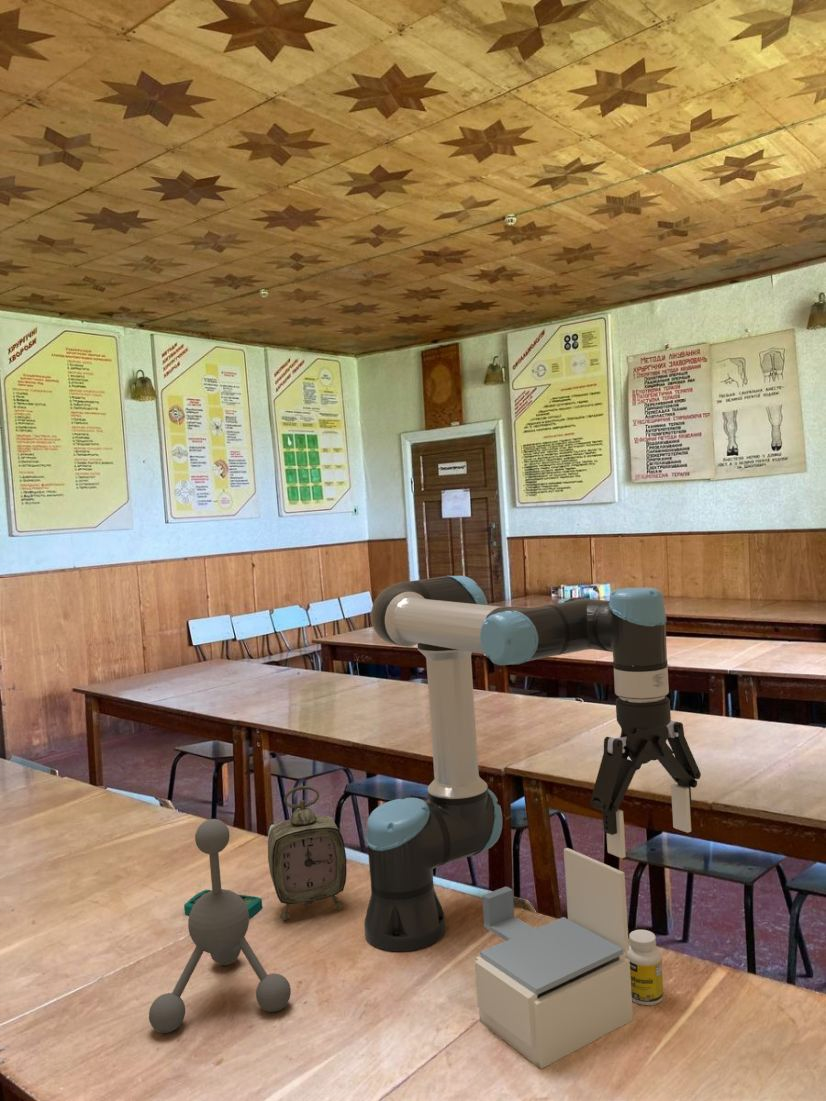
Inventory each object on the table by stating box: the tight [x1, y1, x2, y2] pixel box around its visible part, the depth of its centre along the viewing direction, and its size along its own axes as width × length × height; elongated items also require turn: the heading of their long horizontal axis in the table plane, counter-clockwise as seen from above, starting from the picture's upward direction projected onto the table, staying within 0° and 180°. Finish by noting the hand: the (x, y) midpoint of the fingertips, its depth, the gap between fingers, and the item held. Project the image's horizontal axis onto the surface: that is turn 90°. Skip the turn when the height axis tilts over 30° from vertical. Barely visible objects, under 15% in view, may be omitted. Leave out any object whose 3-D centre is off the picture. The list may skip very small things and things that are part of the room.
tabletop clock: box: [267, 785, 347, 921], centre depth 171 cm, size 14×9×25 cm, turn 106°
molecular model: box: [148, 818, 292, 1034], centre depth 139 cm, size 24×22×30 cm
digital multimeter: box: [183, 889, 263, 919], centre depth 173 cm, size 7×15×3 cm, turn 66°
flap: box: [479, 886, 623, 995], centre depth 132 cm, size 20×17×5 cm
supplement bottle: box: [625, 929, 664, 1006], centre depth 134 cm, size 5×5×10 cm
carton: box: [474, 847, 634, 1070], centre depth 129 cm, size 14×20×22 cm
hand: (650, 842), depth 124 cm, fingers open, 13 cm apart
